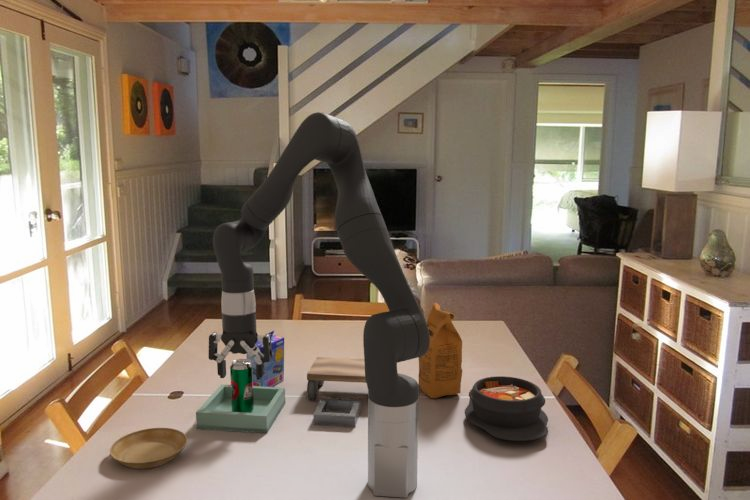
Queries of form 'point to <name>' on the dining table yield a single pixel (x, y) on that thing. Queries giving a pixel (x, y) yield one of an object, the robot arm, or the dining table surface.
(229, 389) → the tray
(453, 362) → the coffee package
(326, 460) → the dining table surface
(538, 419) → the casserole
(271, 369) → the ink cartridge box
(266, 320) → the dining table surface
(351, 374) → the trolley
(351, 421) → the frame
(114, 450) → the plant saucer
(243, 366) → the soda can
